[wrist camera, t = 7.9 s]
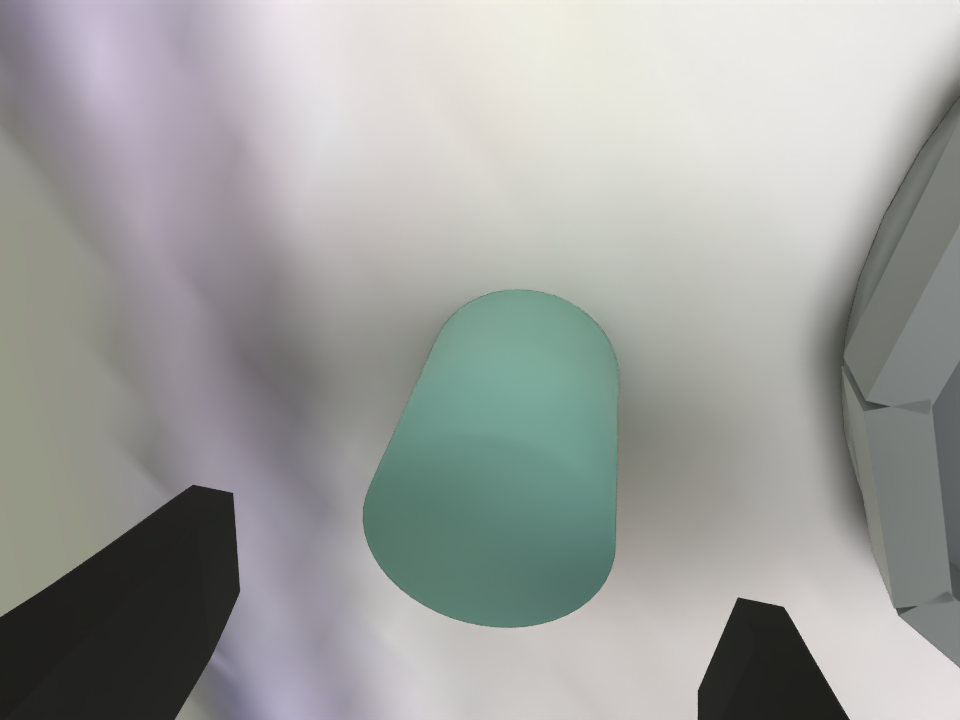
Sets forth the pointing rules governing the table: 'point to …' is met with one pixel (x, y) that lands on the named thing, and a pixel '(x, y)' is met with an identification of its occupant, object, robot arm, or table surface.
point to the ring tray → (912, 392)
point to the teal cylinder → (503, 466)
